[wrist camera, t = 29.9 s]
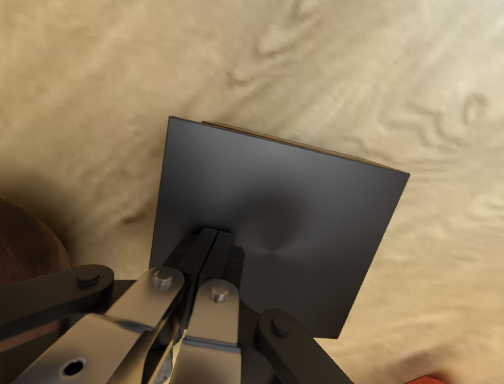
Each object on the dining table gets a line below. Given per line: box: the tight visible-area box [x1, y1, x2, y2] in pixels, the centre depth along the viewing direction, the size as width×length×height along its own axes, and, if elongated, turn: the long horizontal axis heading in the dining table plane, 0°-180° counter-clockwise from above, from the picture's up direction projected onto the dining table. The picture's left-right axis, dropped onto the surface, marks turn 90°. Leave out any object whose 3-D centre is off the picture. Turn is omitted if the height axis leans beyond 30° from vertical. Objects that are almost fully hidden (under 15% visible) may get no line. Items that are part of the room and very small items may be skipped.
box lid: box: [149, 116, 410, 339], centre depth 12 cm, size 12×11×1 cm
